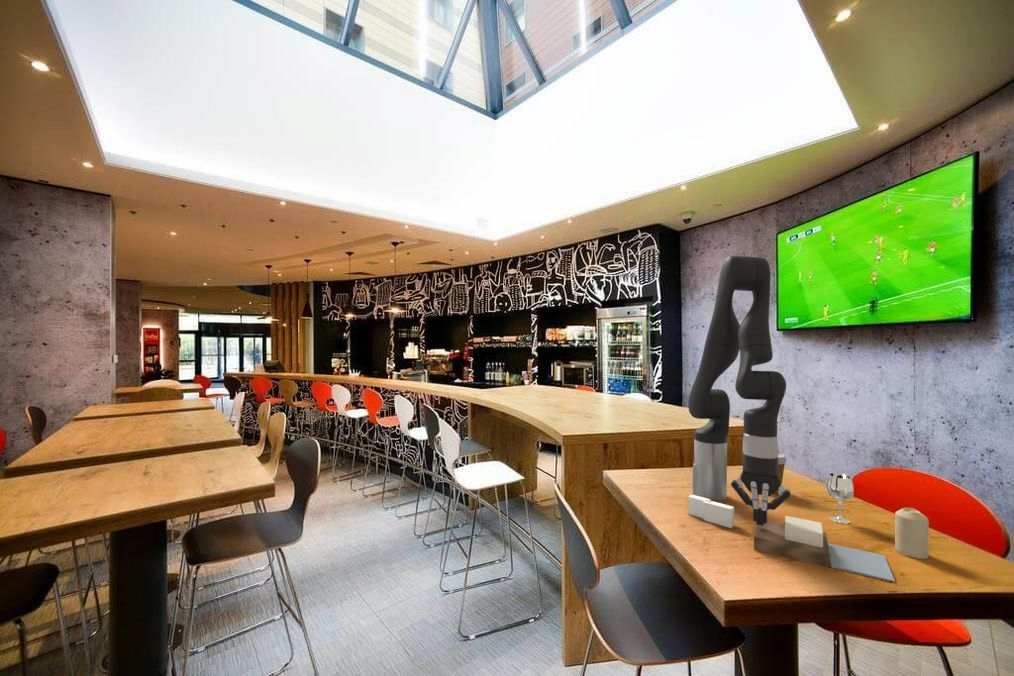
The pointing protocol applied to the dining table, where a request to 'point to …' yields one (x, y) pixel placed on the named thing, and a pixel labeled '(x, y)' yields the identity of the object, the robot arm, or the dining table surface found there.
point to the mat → (859, 562)
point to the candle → (912, 533)
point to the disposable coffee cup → (780, 468)
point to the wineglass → (840, 492)
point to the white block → (803, 531)
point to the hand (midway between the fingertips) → (760, 523)
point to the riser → (789, 545)
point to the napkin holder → (711, 511)
